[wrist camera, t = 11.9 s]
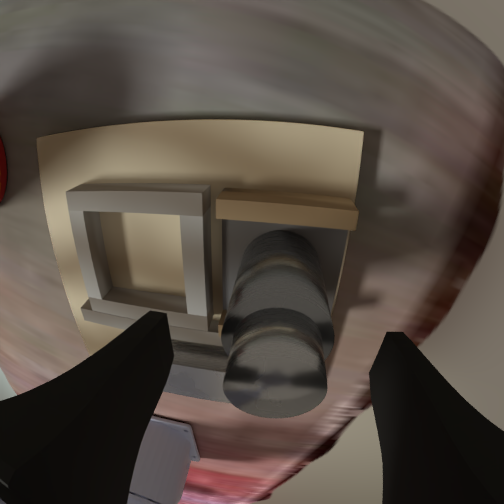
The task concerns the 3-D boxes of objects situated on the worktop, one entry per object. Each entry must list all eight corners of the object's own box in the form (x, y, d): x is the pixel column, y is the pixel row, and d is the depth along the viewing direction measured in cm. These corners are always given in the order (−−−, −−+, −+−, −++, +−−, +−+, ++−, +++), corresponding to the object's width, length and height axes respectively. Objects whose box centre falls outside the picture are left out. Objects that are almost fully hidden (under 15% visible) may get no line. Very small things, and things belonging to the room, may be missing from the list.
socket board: (308, 386, 20) (309, 417, 17) (96, 351, 21) (81, 375, 18) (358, 130, 12) (375, 135, 9) (47, 135, 13) (14, 144, 11)
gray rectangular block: (250, 375, 18) (245, 405, 16) (162, 362, 18) (151, 388, 16) (252, 344, 17) (247, 375, 15) (155, 330, 17) (141, 357, 15)
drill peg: (312, 302, 14) (324, 426, 8) (239, 295, 14) (210, 416, 8) (325, 234, 13) (359, 350, 6) (242, 226, 13) (205, 336, 7)
